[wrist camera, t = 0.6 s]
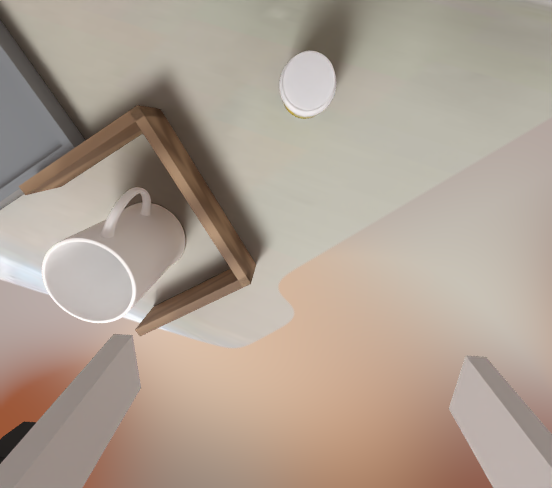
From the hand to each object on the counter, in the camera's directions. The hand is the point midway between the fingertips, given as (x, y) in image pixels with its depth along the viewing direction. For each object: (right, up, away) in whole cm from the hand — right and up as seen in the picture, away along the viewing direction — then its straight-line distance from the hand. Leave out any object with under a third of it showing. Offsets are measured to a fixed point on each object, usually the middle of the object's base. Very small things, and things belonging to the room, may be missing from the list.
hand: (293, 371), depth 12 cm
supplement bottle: (+2, +20, +18) cm, 28 cm away
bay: (-15, +7, +24) cm, 29 cm away
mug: (-15, +7, +24) cm, 29 cm away
